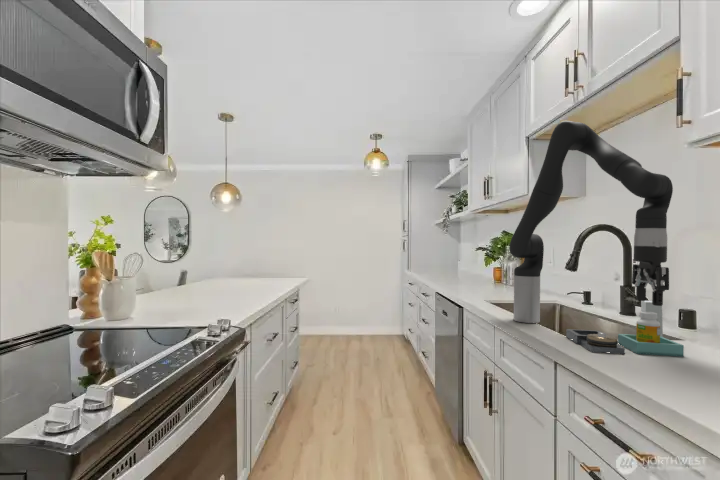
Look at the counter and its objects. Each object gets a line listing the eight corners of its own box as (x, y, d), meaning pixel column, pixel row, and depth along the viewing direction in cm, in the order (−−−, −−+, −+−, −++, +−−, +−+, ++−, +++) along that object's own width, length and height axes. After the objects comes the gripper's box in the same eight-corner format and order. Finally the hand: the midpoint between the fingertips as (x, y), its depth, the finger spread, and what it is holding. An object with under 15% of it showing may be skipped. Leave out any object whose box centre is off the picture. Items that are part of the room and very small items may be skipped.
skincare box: (663, 343, 118) (664, 303, 118) (645, 342, 120) (645, 302, 120) (657, 339, 124) (657, 300, 124) (640, 338, 126) (640, 299, 126)
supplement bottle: (633, 346, 111) (633, 312, 111) (639, 344, 114) (640, 310, 115) (656, 351, 107) (656, 315, 107) (662, 348, 110) (662, 313, 110)
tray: (618, 344, 117) (618, 333, 117) (659, 346, 115) (659, 336, 115) (636, 353, 106) (637, 342, 106) (683, 356, 104) (683, 345, 104)
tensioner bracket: (566, 336, 125) (566, 322, 125) (598, 338, 123) (599, 324, 123) (589, 352, 107) (589, 335, 107) (627, 354, 105) (627, 337, 105)
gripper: (623, 244, 118) (622, 298, 118) (649, 244, 104) (647, 306, 104) (651, 245, 117) (650, 300, 117) (681, 245, 103) (679, 308, 103)
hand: (648, 303), depth 111 cm, fingers open, 8 cm apart
